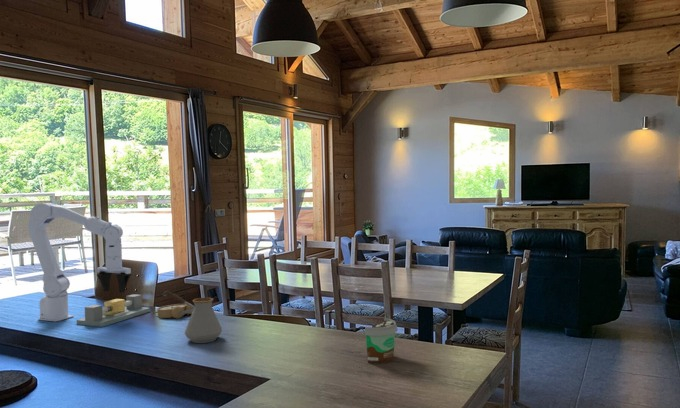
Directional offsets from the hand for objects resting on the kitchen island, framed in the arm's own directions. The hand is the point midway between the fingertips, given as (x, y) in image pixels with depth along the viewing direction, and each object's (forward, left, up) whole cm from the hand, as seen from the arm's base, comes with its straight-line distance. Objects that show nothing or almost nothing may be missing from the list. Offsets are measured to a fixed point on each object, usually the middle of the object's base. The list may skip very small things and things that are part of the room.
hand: (114, 291), depth 192 cm
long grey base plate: (+2, -2, -9) cm, 10 cm away
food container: (+112, -17, -10) cm, 114 cm away
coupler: (+2, -2, -8) cm, 9 cm away
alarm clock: (+23, +8, -10) cm, 26 cm away
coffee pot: (+47, -16, -10) cm, 51 cm away
